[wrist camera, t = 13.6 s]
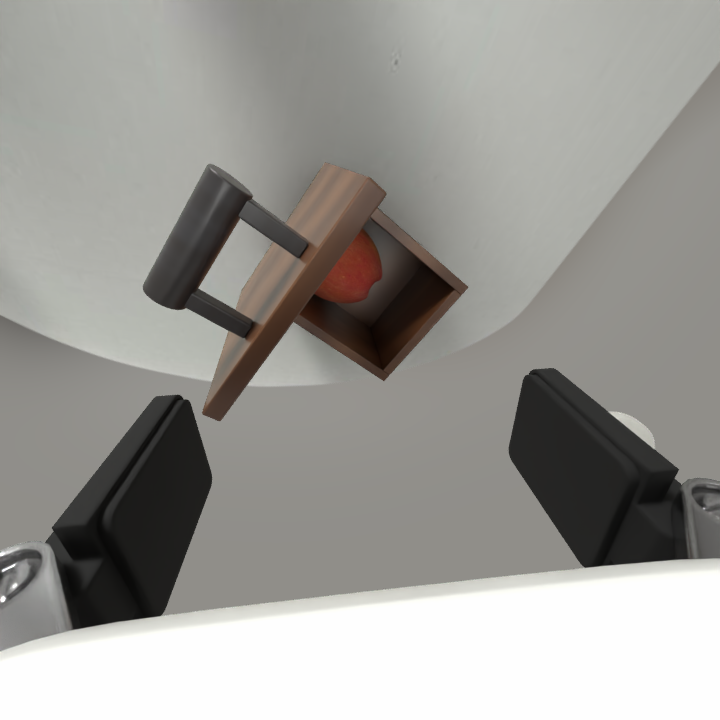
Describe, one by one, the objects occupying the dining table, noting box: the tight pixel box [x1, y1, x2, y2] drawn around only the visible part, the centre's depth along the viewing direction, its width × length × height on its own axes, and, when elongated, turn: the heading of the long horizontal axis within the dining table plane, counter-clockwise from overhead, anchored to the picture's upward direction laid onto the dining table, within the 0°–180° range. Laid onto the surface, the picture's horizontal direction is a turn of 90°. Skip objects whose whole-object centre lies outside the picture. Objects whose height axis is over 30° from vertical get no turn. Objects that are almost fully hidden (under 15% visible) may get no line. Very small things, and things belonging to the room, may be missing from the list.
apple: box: [314, 228, 382, 303], centre depth 32 cm, size 7×7×8 cm
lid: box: [143, 162, 386, 421], centre depth 18 cm, size 14×11×5 cm
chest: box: [294, 208, 468, 381], centre depth 32 cm, size 14×11×11 cm
